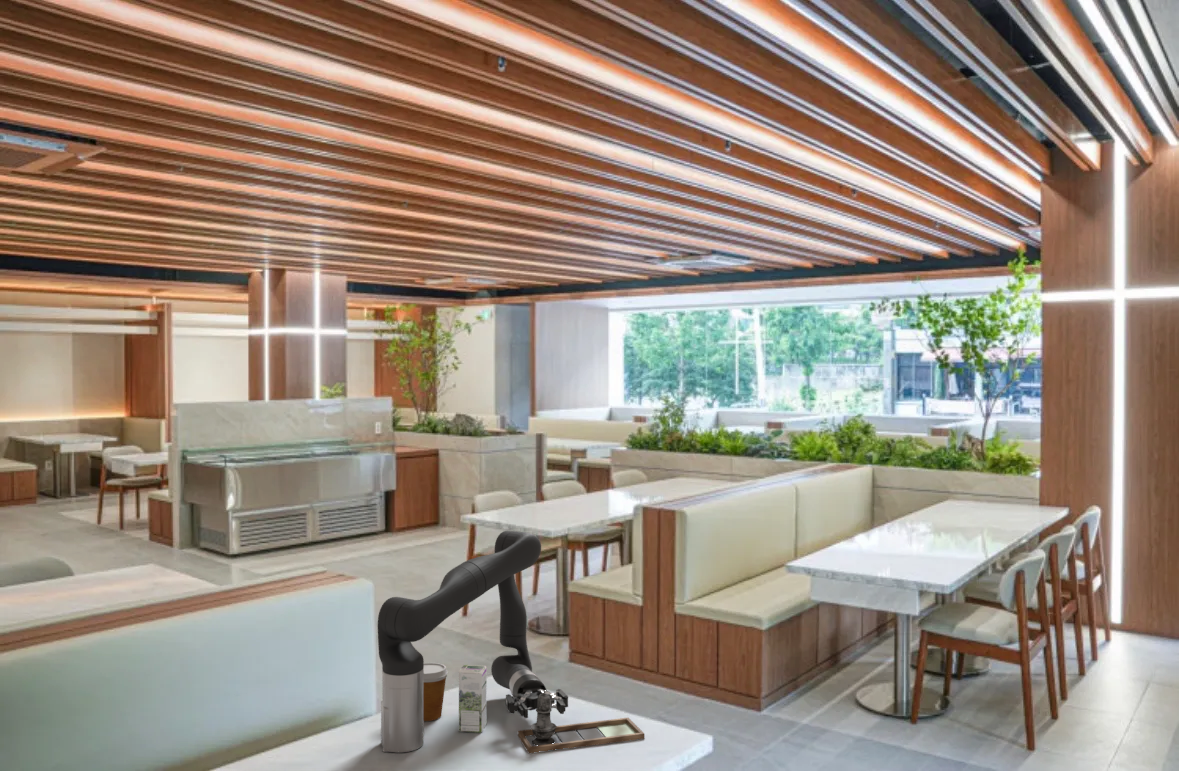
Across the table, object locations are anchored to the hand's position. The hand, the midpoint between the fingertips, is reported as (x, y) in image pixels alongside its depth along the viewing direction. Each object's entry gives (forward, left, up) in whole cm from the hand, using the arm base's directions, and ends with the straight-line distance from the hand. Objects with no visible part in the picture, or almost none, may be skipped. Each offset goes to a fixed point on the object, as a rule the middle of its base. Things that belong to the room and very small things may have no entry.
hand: (544, 711), depth 204 cm
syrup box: (-14, +14, -7) cm, 21 cm away
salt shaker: (0, +1, -7) cm, 7 cm away
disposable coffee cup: (-23, +25, -7) cm, 35 cm away
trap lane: (+9, +1, -7) cm, 12 cm away
